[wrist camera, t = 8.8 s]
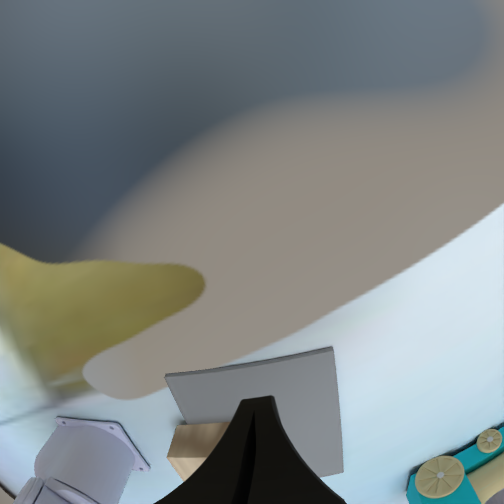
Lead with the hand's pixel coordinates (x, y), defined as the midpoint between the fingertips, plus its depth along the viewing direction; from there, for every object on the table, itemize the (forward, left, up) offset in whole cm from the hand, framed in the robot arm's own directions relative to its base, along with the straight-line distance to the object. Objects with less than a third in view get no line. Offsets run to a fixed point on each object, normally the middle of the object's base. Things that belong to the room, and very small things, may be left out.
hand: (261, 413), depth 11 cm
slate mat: (-2, -12, -9) cm, 15 cm away
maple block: (-2, -11, -7) cm, 13 cm away
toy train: (+21, -29, -10) cm, 37 cm away
